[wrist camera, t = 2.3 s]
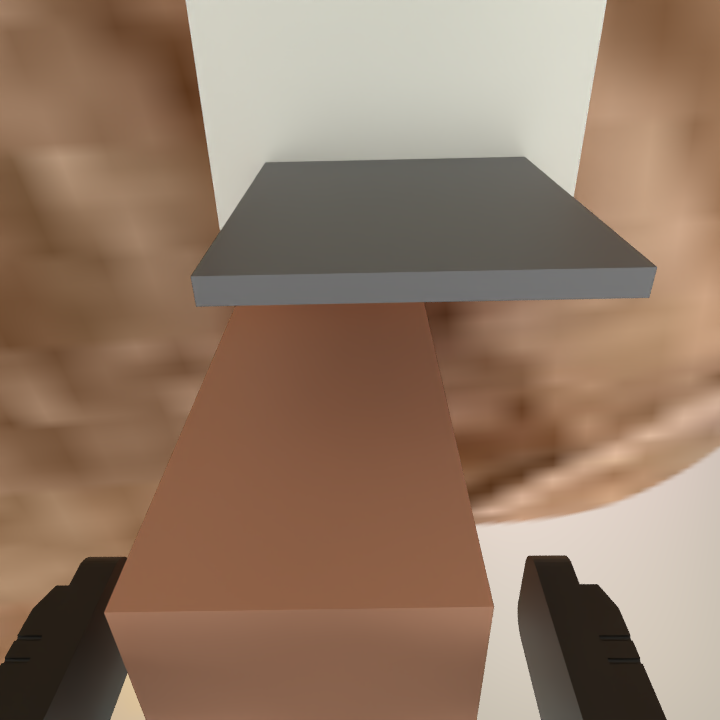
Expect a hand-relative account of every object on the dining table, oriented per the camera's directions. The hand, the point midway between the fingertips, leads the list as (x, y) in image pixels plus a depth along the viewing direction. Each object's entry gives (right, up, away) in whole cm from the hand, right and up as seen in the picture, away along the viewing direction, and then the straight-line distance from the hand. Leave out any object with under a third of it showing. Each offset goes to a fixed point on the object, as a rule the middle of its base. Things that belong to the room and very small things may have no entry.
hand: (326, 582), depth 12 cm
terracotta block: (0, +5, +8) cm, 10 cm away
